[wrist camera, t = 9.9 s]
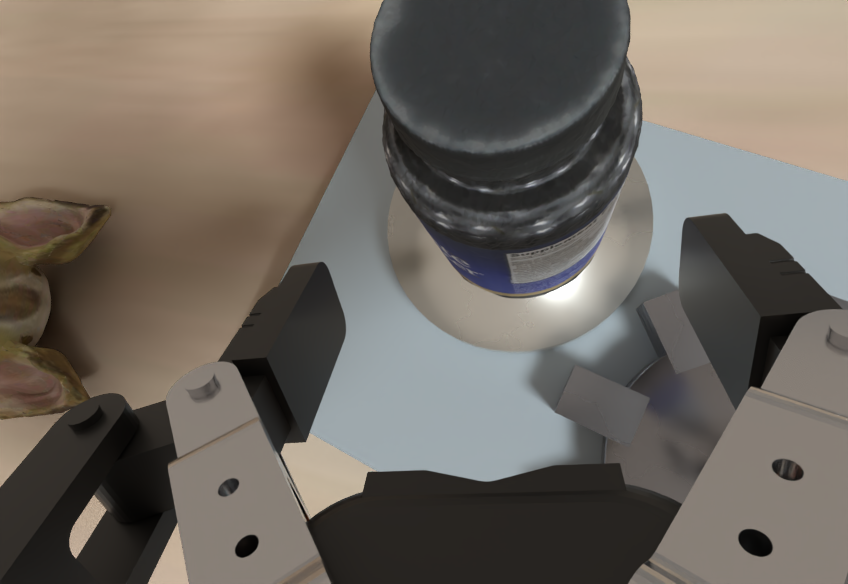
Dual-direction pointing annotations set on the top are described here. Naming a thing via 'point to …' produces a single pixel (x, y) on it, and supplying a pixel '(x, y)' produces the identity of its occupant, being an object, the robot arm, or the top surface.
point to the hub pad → (530, 317)
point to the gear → (657, 406)
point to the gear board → (540, 371)
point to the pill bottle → (509, 130)
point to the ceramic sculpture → (37, 301)
